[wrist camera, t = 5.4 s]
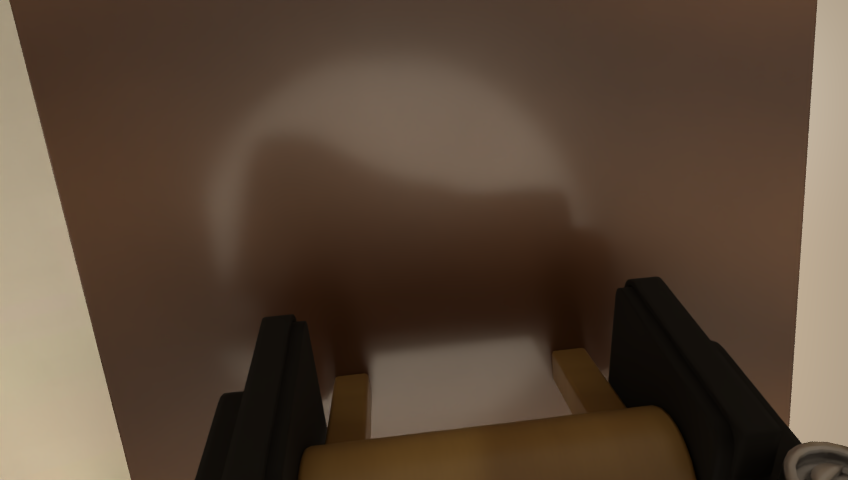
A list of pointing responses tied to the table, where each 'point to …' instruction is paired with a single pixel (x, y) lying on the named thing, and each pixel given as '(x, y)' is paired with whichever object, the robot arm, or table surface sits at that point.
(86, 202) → the chest lid
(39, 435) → the table surface
